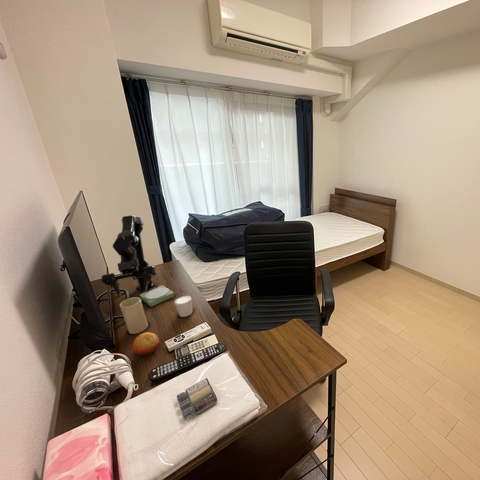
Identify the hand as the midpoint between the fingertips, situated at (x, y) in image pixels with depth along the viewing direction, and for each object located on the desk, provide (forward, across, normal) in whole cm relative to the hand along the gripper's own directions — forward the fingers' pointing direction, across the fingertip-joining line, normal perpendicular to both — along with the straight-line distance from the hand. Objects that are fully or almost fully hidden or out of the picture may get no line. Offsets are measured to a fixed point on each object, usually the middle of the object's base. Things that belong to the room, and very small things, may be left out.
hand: (132, 293), depth 107 cm
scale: (-2, +6, +20) cm, 21 cm away
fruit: (+26, +4, -7) cm, 27 cm away
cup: (+14, 0, +4) cm, 15 cm away
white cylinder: (+13, +18, +6) cm, 23 cm away
